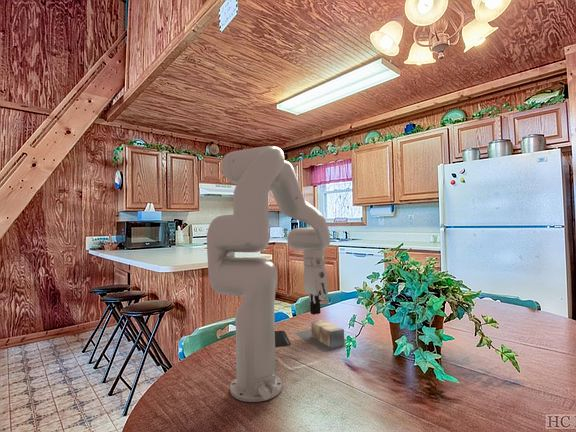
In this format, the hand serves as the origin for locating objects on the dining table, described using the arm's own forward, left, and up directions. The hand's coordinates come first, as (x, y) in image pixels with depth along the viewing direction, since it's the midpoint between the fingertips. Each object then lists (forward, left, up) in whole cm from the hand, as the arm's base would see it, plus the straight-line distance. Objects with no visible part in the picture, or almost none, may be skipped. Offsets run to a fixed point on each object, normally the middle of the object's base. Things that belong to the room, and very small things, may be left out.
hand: (315, 313), depth 113 cm
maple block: (-1, 0, -5) cm, 5 cm away
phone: (+3, +14, -8) cm, 17 cm away
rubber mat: (-5, 0, -8) cm, 9 cm away
